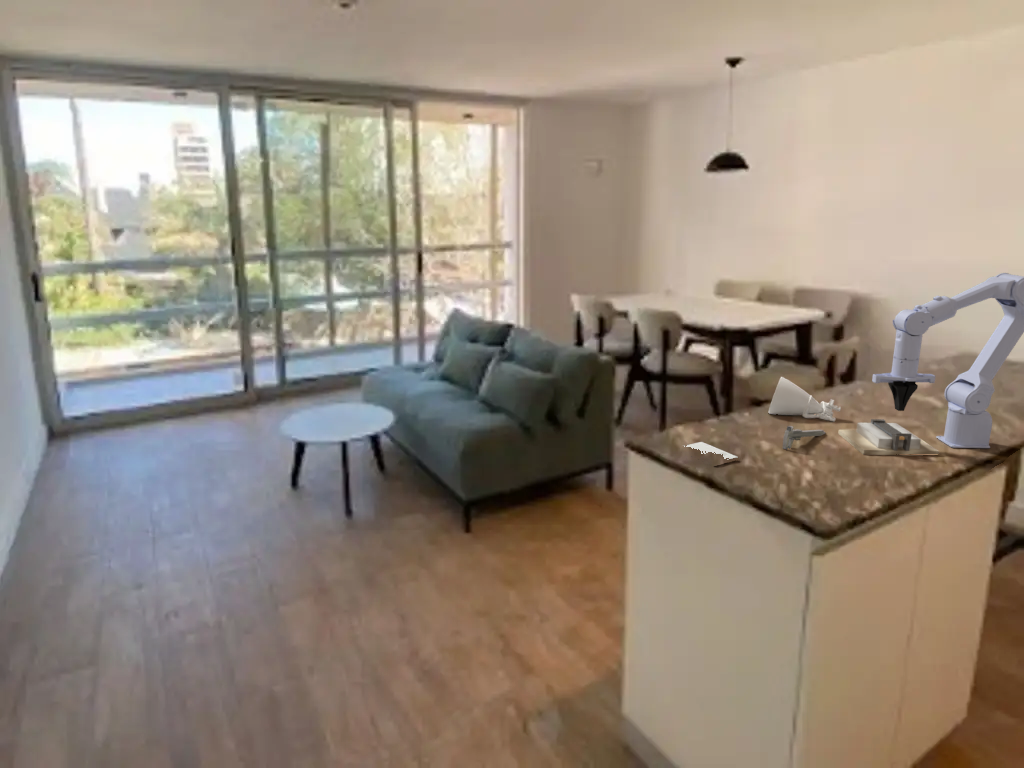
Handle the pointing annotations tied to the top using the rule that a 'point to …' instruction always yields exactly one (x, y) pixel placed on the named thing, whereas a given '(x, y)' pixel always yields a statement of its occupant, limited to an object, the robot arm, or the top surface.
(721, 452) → the external hard drive
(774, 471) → the top surface
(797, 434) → the caliper
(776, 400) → the rocket engine
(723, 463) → the top surface
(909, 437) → the base board
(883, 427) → the grey flat bar
